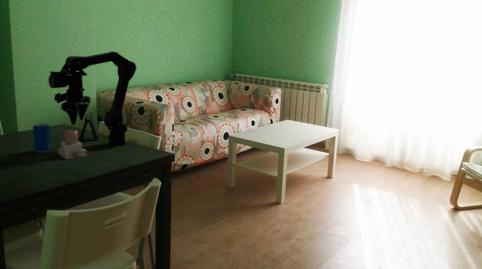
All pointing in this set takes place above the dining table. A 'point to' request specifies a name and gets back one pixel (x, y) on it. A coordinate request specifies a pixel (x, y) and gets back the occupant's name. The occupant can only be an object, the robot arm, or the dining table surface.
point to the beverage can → (41, 137)
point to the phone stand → (93, 128)
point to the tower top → (71, 147)
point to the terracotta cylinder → (71, 137)
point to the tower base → (72, 154)
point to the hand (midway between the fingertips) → (77, 122)
